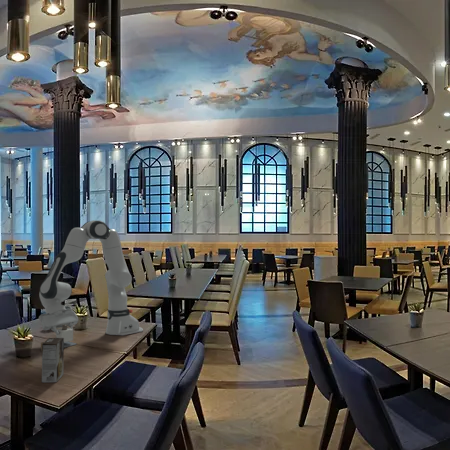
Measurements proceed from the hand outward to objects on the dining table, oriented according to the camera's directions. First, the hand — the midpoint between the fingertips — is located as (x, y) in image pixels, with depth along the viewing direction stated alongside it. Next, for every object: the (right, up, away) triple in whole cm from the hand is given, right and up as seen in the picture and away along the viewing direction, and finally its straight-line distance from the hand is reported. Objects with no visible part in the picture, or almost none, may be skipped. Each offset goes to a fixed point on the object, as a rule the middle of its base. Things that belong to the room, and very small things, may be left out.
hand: (65, 332), depth 222 cm
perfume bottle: (-1, -4, 0) cm, 5 cm away
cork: (-8, -7, -10) cm, 14 cm away
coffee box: (+14, -7, -49) cm, 52 cm away
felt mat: (0, -7, 0) cm, 7 cm away
